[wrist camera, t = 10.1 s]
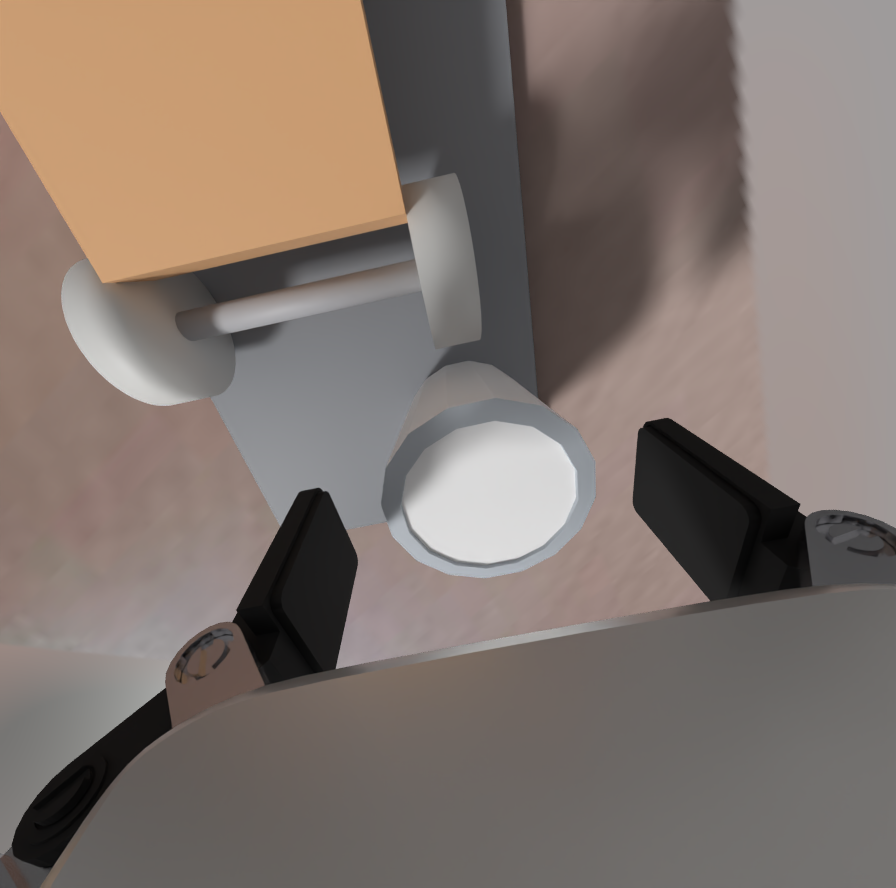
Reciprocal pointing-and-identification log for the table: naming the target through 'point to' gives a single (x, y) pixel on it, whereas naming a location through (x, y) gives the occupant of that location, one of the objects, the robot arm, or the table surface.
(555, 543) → the white cup
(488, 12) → the board
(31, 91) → the trolley
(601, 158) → the table surface
